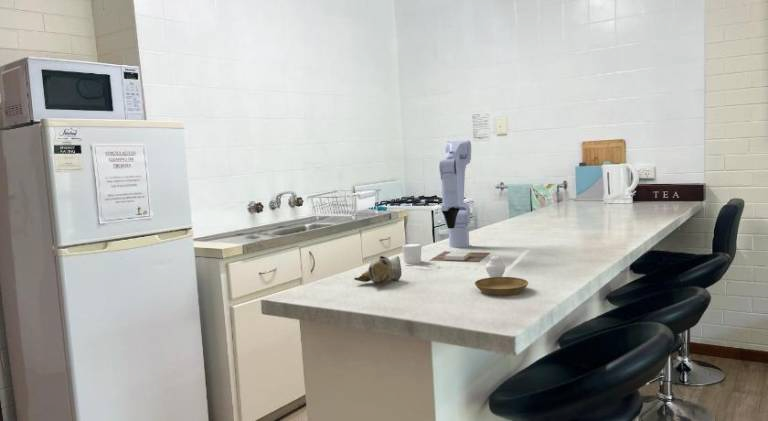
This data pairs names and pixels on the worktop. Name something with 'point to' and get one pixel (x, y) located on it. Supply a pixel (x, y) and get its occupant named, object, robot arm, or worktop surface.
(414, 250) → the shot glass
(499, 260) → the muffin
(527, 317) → the worktop surface
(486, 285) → the plant saucer
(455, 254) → the glazed tile
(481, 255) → the walnut board
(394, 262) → the ceramic sculpture
